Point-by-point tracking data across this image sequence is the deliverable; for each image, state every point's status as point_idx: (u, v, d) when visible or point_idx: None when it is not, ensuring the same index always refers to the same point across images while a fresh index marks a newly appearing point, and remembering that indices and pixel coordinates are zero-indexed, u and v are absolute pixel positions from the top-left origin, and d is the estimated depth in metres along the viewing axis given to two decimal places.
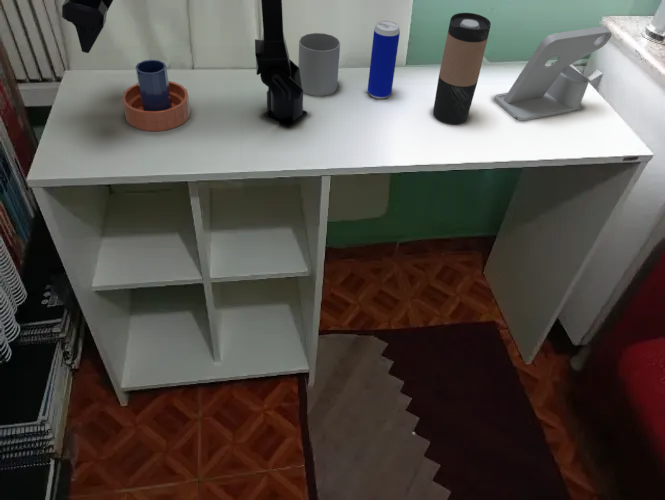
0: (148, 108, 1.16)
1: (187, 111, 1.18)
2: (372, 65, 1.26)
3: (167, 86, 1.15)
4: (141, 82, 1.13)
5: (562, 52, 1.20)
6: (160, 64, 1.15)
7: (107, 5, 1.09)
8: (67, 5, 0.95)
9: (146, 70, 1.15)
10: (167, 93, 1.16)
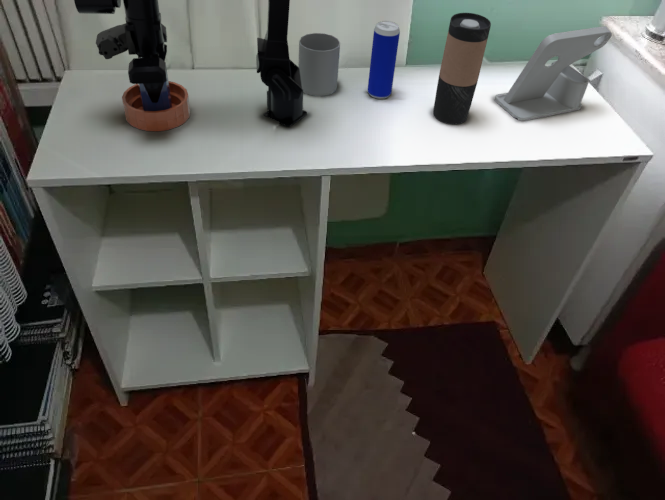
0: (148, 108, 1.16)
1: (187, 111, 1.18)
2: (372, 65, 1.26)
3: (167, 86, 1.15)
4: None
5: (562, 52, 1.20)
6: None
7: None
8: (132, 71, 1.03)
9: None
10: (167, 93, 1.16)
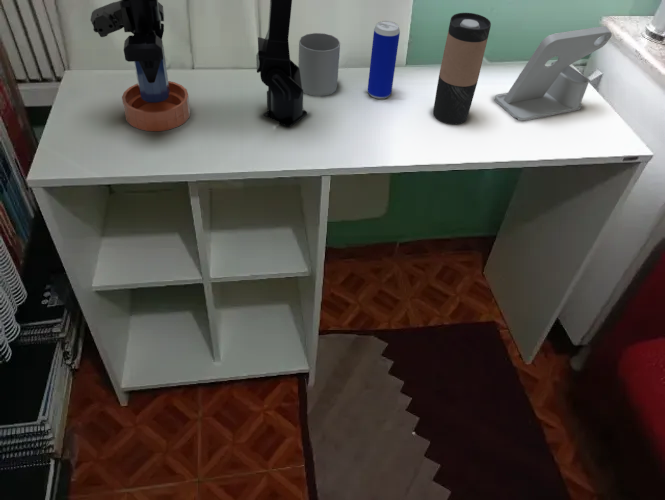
0: (144, 88, 1.13)
1: (187, 111, 1.18)
2: (372, 65, 1.26)
3: (164, 66, 1.12)
4: (137, 61, 1.10)
5: (562, 52, 1.20)
6: None
7: None
8: (128, 48, 1.01)
9: None
10: (164, 73, 1.13)
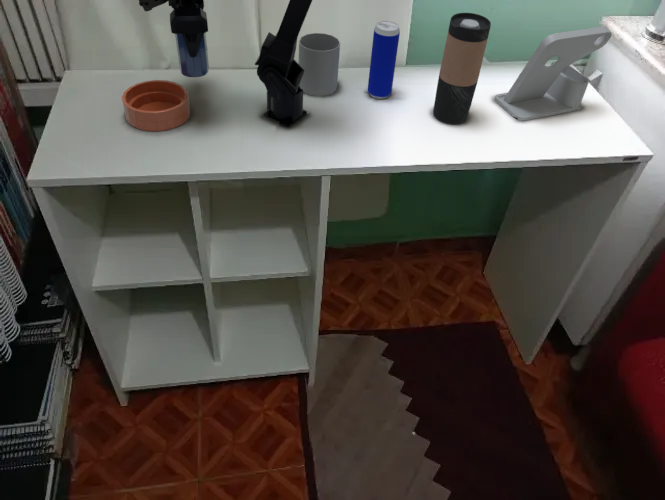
0: (186, 63, 1.15)
1: (187, 111, 1.18)
2: (372, 65, 1.26)
3: (205, 40, 1.14)
4: (179, 36, 1.12)
5: (562, 52, 1.20)
6: None
7: None
8: (174, 20, 1.03)
9: None
10: (205, 48, 1.15)
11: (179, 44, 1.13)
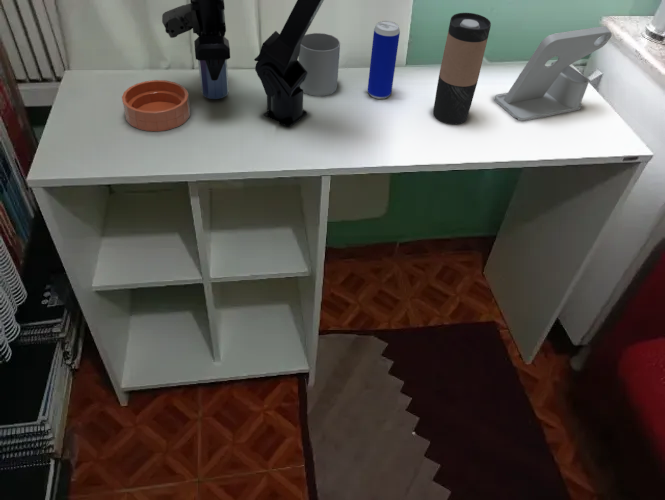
0: (207, 85, 1.21)
1: (187, 111, 1.18)
2: (372, 65, 1.26)
3: (226, 64, 1.20)
4: (202, 60, 1.18)
5: (562, 52, 1.20)
6: None
7: None
8: (199, 47, 1.09)
9: None
10: (225, 71, 1.21)
11: (201, 68, 1.19)
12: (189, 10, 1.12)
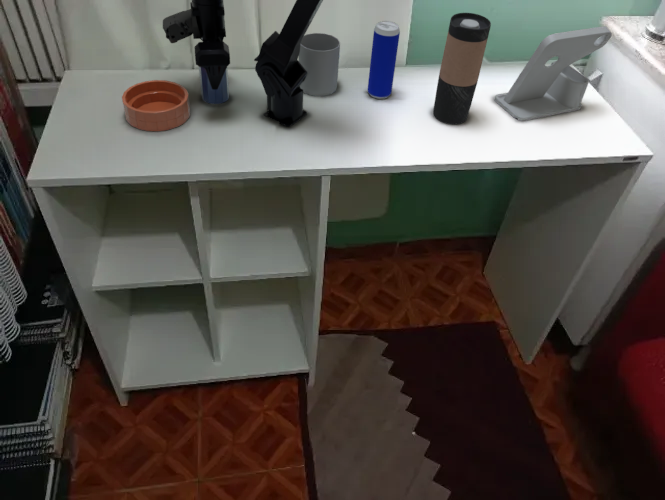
0: (208, 93, 1.22)
1: (187, 111, 1.18)
2: (372, 65, 1.26)
3: (226, 72, 1.21)
4: (203, 68, 1.19)
5: (562, 52, 1.20)
6: None
7: None
8: (199, 53, 1.09)
9: None
10: (226, 79, 1.22)
11: (202, 75, 1.20)
12: (189, 16, 1.12)
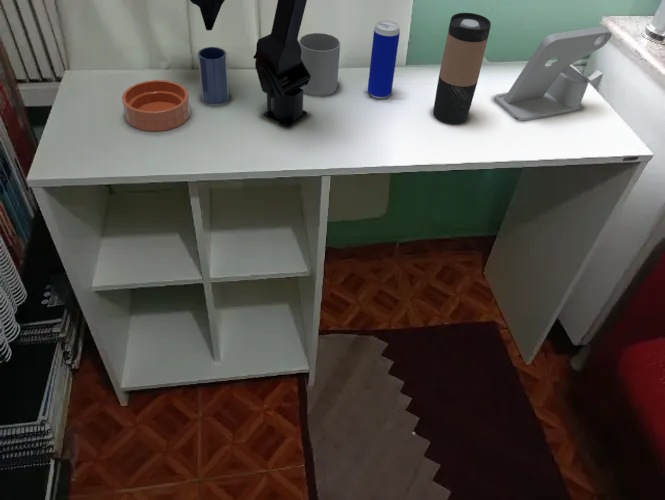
0: (208, 93, 1.22)
1: (187, 111, 1.18)
2: (372, 65, 1.26)
3: (226, 72, 1.21)
4: (203, 68, 1.19)
5: (562, 52, 1.20)
6: (219, 51, 1.21)
7: None
8: None
9: (206, 57, 1.22)
10: (226, 79, 1.22)
11: (202, 75, 1.20)
12: None
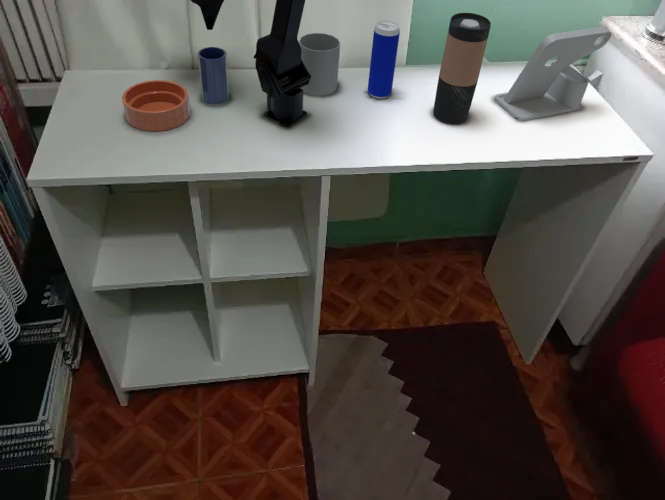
0: (208, 93, 1.22)
1: (187, 111, 1.18)
2: (372, 65, 1.26)
3: (226, 72, 1.21)
4: (203, 68, 1.19)
5: (562, 52, 1.20)
6: (219, 51, 1.21)
7: None
8: None
9: (206, 57, 1.22)
10: (226, 79, 1.22)
11: (202, 75, 1.20)
12: None
